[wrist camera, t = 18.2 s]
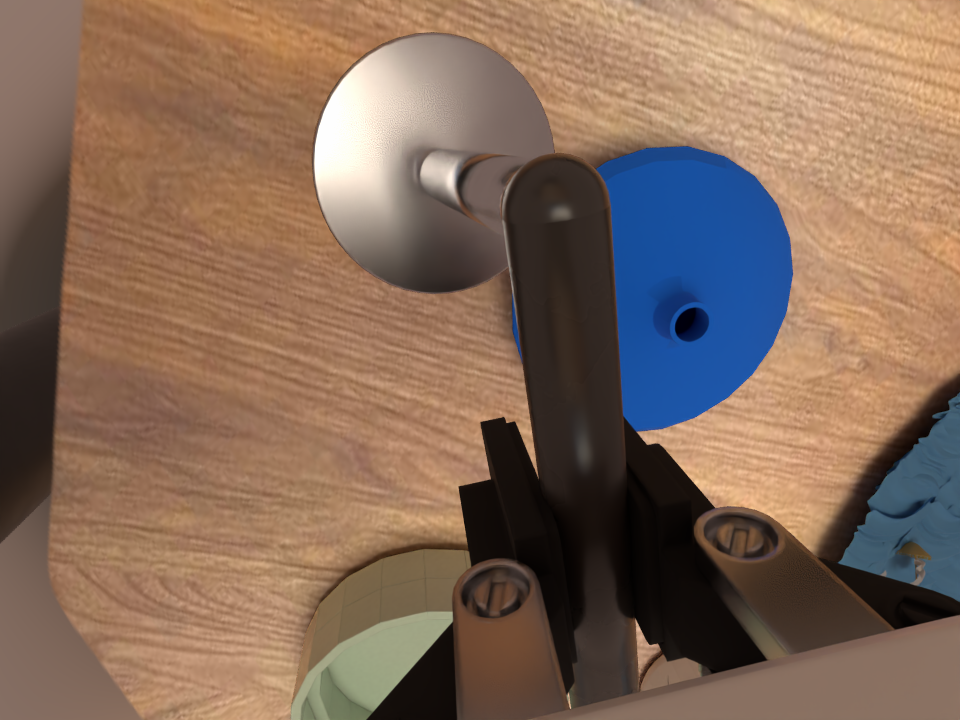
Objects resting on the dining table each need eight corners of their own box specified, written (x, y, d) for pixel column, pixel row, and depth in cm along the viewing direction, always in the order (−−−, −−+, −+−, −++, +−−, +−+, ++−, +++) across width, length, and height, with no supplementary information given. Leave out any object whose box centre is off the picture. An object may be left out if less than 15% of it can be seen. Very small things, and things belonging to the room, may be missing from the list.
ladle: (283, 68, 14) (229, -60, 5) (502, 34, 15) (813, -124, 6) (411, 534, 21) (496, 872, 11) (558, 486, 22) (749, 757, 12)
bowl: (342, 747, 43) (333, 836, 37) (274, 576, 36) (251, 653, 31) (557, 693, 44) (580, 772, 38) (528, 518, 37) (550, 582, 32)
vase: (455, 225, 30) (470, 247, 23) (723, 93, 29) (815, 77, 23) (560, 449, 36) (596, 516, 29) (785, 343, 35) (872, 387, 29)
